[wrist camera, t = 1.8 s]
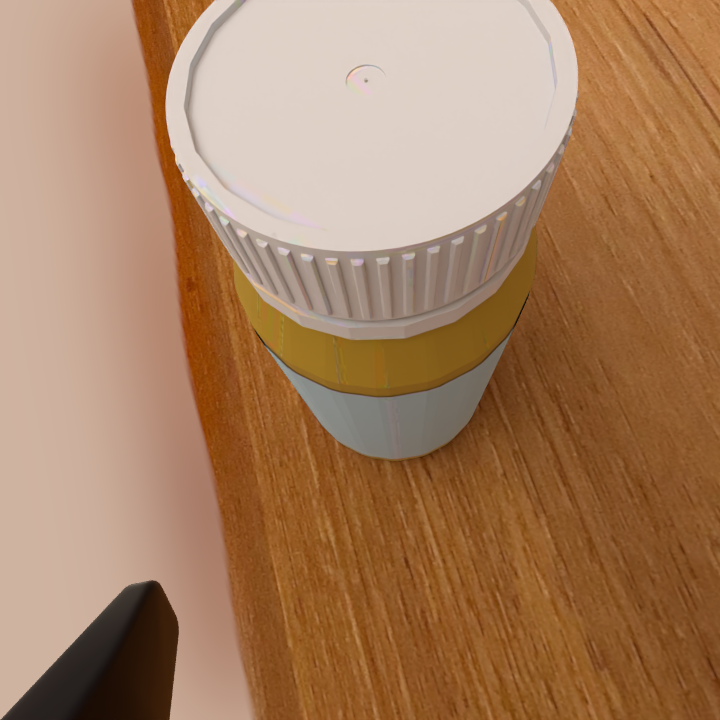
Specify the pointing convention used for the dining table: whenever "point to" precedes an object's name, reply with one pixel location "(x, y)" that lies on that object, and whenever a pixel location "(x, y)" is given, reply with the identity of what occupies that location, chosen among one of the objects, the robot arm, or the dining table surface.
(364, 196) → the bottle
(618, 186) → the dining table surface
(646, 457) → the dining table surface
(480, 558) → the dining table surface
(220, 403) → the dining table surface
